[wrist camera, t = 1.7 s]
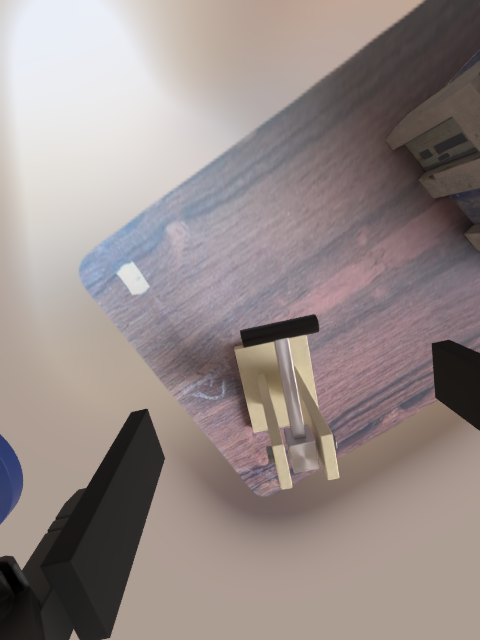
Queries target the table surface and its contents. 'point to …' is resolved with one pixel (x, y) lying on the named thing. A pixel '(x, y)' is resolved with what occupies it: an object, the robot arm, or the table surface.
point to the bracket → (271, 407)
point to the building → (449, 143)
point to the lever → (289, 384)
